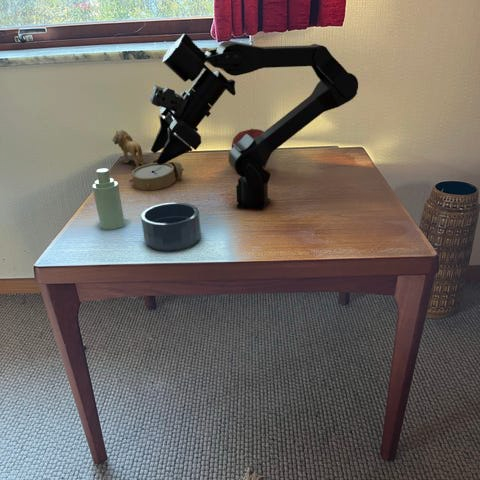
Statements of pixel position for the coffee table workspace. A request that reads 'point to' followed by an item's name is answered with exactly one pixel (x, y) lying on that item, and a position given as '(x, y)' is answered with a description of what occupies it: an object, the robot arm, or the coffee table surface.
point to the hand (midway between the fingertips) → (155, 157)
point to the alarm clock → (156, 175)
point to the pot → (171, 226)
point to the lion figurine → (128, 146)
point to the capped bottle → (108, 201)
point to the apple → (251, 132)
